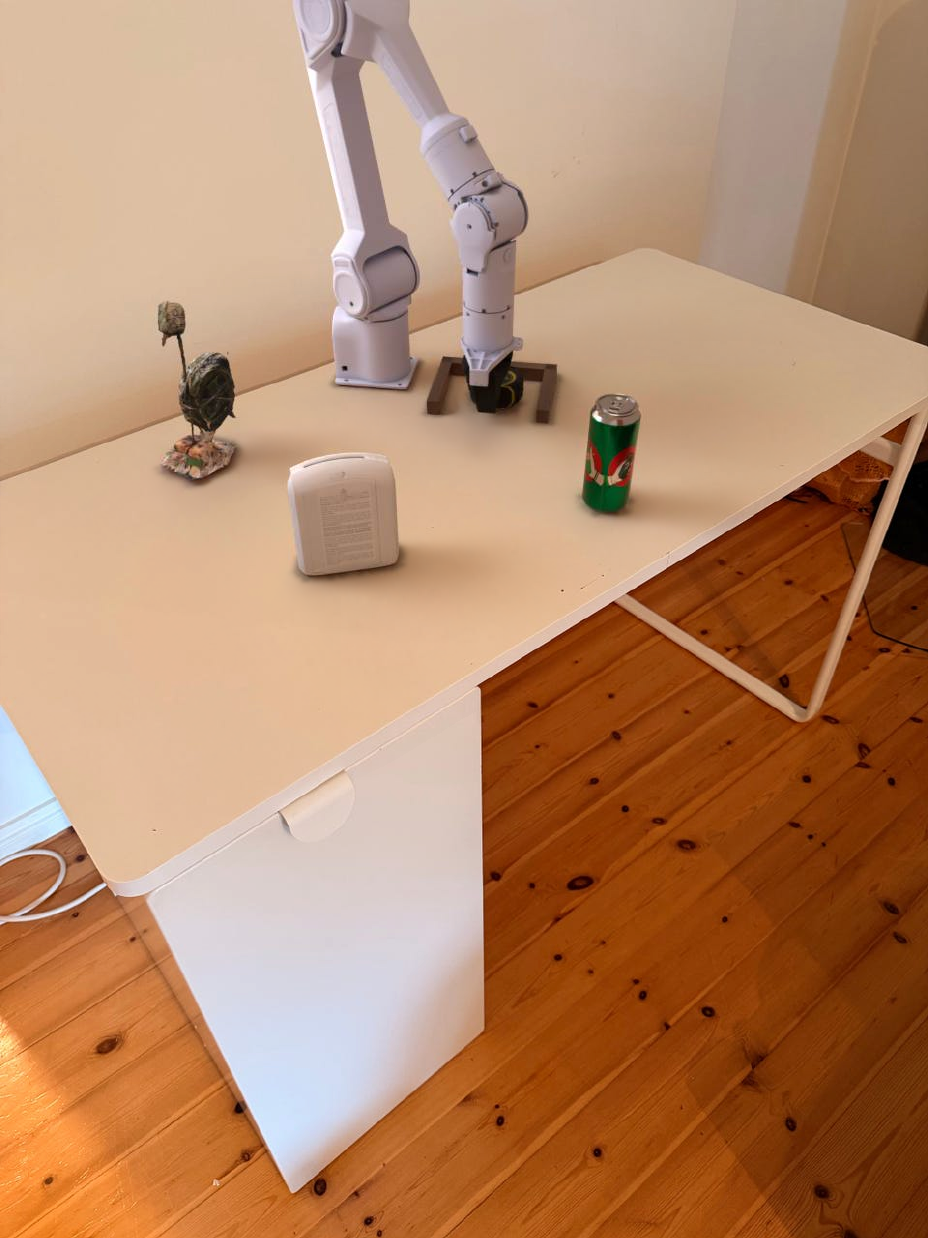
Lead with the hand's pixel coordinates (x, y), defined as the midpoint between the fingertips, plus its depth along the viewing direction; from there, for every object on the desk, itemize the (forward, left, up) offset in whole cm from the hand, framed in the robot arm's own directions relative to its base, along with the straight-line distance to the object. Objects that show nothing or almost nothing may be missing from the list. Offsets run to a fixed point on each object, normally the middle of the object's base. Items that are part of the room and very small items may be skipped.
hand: (486, 410), depth 113 cm
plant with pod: (-31, -13, -2) cm, 34 cm away
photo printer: (-10, -29, -2) cm, 30 cm away
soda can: (+15, -15, -2) cm, 21 cm away
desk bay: (0, +5, -1) cm, 6 cm away
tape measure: (0, +5, -2) cm, 5 cm away
